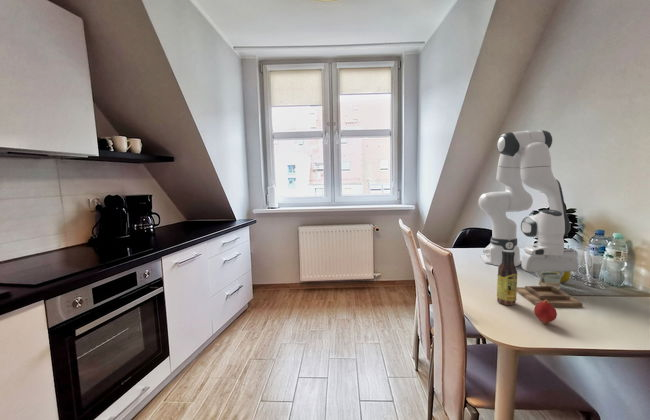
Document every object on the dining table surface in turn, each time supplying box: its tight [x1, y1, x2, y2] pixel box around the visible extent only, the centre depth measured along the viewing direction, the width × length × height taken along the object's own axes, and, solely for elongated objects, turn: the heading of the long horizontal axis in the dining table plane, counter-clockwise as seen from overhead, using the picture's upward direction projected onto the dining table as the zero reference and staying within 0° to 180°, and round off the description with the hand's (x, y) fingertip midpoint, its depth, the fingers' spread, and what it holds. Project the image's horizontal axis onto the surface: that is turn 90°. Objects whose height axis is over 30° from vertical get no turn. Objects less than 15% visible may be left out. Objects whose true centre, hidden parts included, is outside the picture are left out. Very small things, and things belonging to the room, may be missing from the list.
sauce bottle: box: [496, 250, 518, 306], centre depth 108 cm, size 7×6×20 cm
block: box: [538, 272, 561, 290], centre depth 121 cm, size 5×5×6 cm
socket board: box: [517, 285, 583, 308], centre depth 110 cm, size 15×15×3 cm
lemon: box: [555, 272, 571, 284], centre depth 125 cm, size 6×6×8 cm
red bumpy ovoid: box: [533, 300, 558, 325], centre depth 92 cm, size 6×6×8 cm
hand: (548, 281), depth 121 cm, fingers closed on block, 5 cm apart
